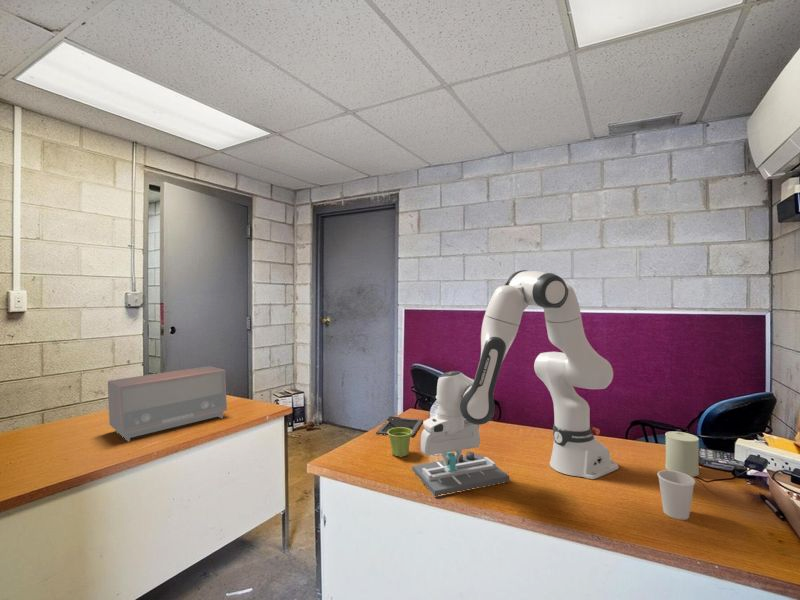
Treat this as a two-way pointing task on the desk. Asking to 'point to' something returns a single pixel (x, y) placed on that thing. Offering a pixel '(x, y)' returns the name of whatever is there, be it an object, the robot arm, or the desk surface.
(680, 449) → the can
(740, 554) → the desk surface
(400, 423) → the picture frame
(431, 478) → the console
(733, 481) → the desk surface
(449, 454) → the fader
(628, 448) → the desk surface
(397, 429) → the plant pot
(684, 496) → the dixie cup
